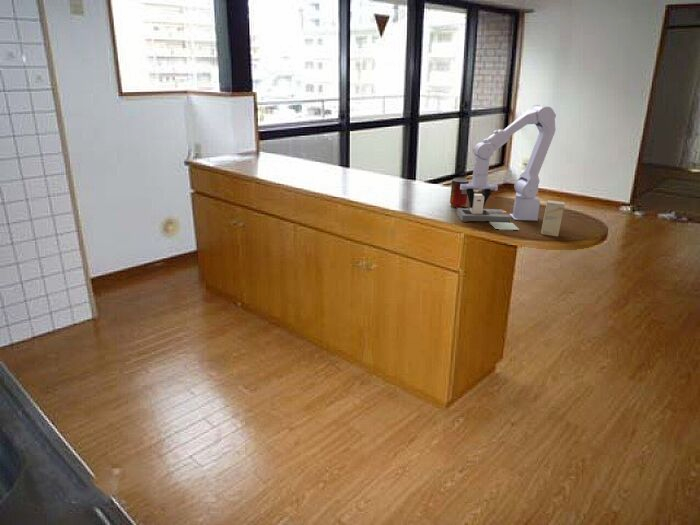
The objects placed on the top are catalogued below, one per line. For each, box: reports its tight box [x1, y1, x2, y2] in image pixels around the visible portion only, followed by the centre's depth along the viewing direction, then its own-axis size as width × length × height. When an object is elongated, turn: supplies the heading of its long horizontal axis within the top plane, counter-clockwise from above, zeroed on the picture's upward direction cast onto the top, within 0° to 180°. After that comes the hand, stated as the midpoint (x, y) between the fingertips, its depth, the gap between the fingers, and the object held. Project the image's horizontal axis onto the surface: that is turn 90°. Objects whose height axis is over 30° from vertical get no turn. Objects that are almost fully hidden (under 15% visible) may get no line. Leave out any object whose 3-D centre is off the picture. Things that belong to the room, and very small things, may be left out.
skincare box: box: [540, 199, 566, 237], centre depth 187 cm, size 6×4×12 cm
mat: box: [488, 222, 520, 232], centre depth 196 cm, size 9×9×1 cm
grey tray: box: [456, 207, 512, 223], centre depth 206 cm, size 19×11×3 cm, turn 90°
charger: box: [469, 193, 484, 214], centre depth 205 cm, size 4×5×7 cm
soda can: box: [449, 177, 470, 209], centre depth 222 cm, size 7×7×12 cm
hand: (476, 207), depth 205 cm, fingers closed on charger, 4 cm apart
